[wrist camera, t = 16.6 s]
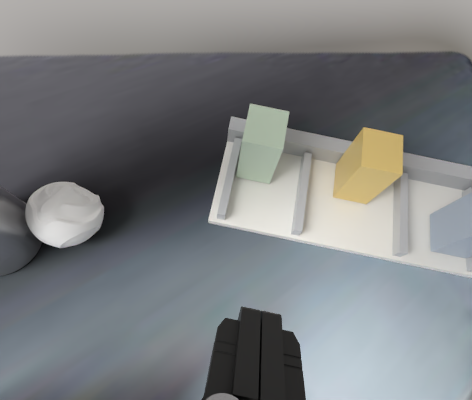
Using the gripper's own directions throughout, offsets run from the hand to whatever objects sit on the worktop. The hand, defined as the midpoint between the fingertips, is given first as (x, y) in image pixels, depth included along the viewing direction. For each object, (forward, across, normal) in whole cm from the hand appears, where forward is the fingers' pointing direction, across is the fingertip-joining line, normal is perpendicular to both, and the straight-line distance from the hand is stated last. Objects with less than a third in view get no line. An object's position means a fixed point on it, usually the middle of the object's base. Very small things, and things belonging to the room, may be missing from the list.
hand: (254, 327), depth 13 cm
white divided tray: (+33, -13, +6) cm, 36 cm away
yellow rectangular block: (+34, -13, +4) cm, 36 cm away
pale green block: (+34, 0, +4) cm, 34 cm away
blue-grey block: (+30, -26, +7) cm, 40 cm away
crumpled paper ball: (+26, +20, +14) cm, 36 cm away
